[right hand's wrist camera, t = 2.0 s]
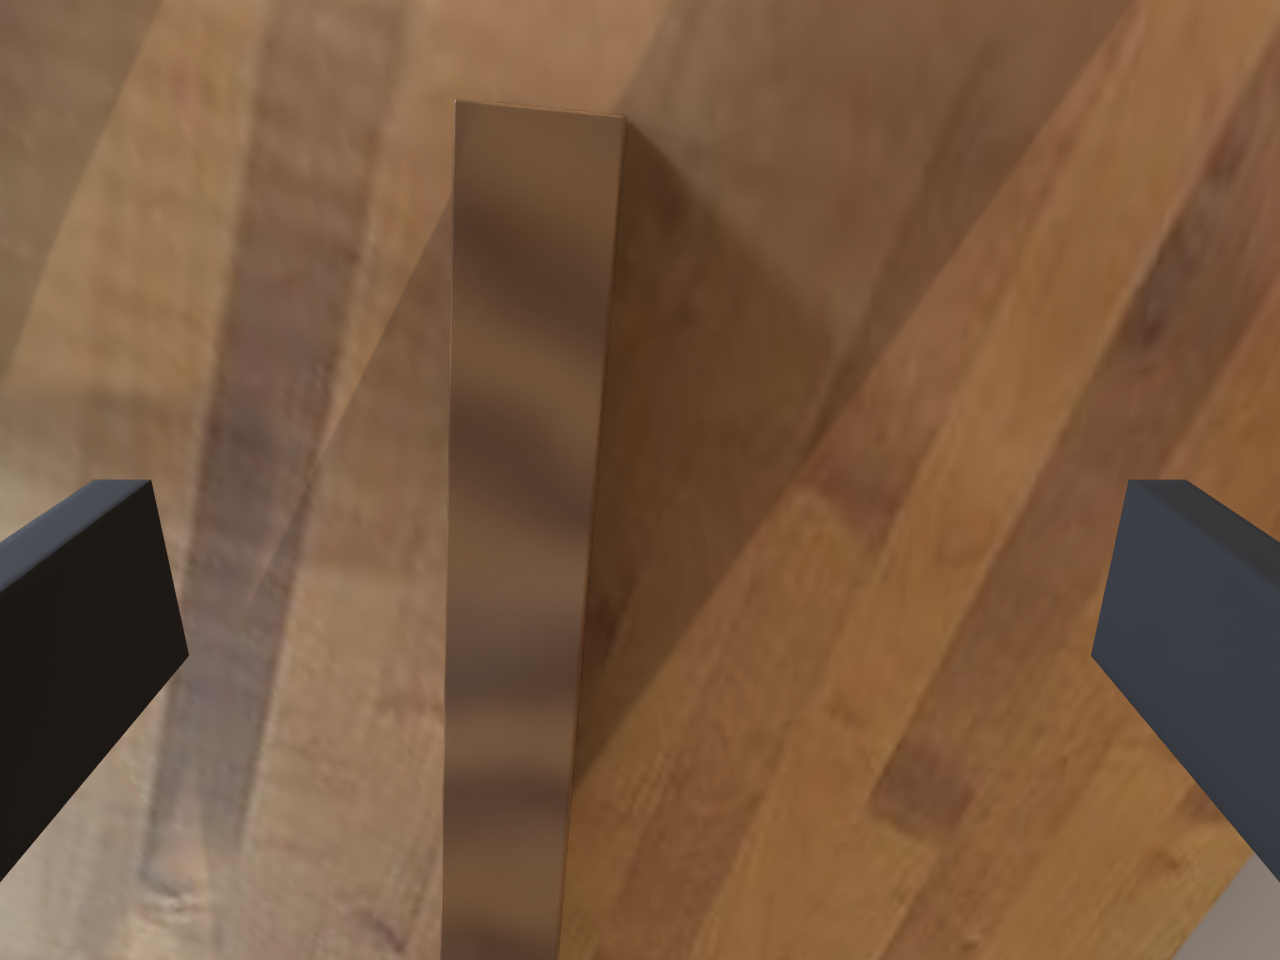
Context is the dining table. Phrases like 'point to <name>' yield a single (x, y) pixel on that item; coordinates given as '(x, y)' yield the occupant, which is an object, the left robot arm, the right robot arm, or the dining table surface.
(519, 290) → the post
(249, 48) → the dining table surface
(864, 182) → the dining table surface
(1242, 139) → the dining table surface
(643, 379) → the dining table surface
